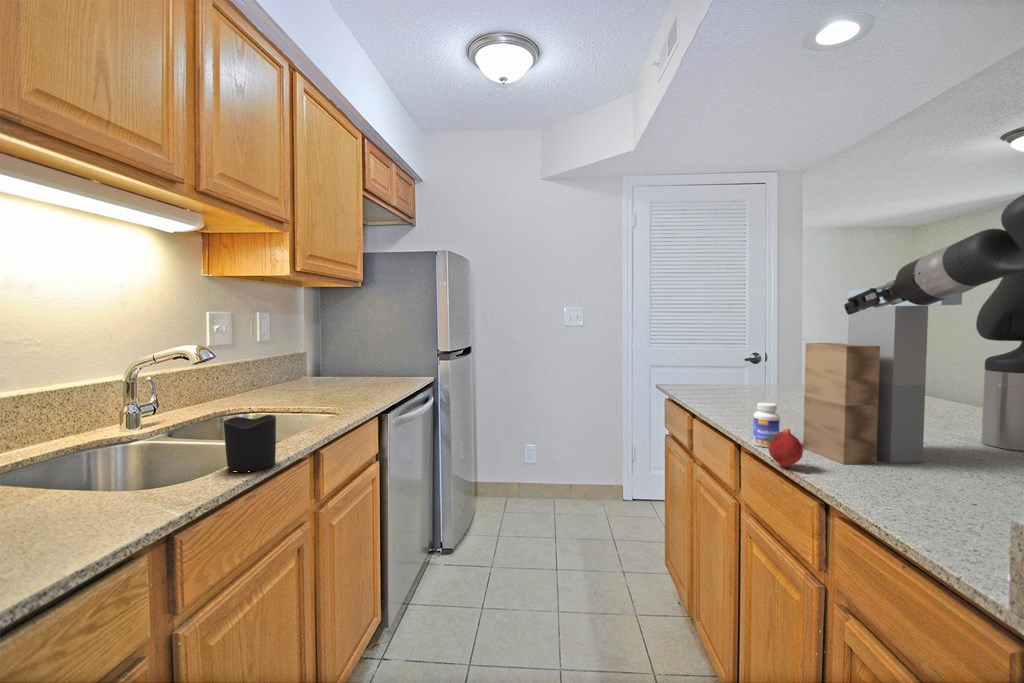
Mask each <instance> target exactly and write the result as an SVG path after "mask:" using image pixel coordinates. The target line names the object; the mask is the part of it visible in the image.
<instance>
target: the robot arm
mask: <svg viewBox="0 0 1024 683" xmlns="http://www.w3.org/2000/svg"><path fill="white" fill-rule="evenodd" d="M1000 221H1001V225H1002V227H1003V229H1002V228H988V229H983V230H981V231H978V232H976V233H974V234H972V235H969V236H967V237H964V238H963V239H961V240H959V241H957V242H955V243H953V244H949V245H947V246H945V247H941V248H939V249H936V250H934V251H932V252H930V253H928V254H926V255H924V256H922V257H920V258H918V259H916V260H913V261H911V262H909V263H907V264H905V265H903V266H902V267H901V268H900V269H899V270H898V271H897V274H896V277H895V280H890V281H888V282H886V283H885V284H883V285H881V286H877V287H871V288H868V289H869V290H867V291H865V292H863V293H860V294H858V295H856V296H854V297H850V298H849V297H848V298H847V303H844V306H843V307H844V310H845V312H846V314H847V315H848V316H849V315H850V314H854V313H856V312H859V311H861V310H862V311H863V310H865V309H867V308H871V307H875V308H880V307H883V306H887V305H890V304H891V305H895V304H898V303H901V302H905V301H909V302H911V303H913V304H916V305H930V304H933V303H936V302H938V301H941V300H944V299H947V298H950V297H953V296H955V295H958V294H961V293H962V294H963V293H966V292H969V291H971V290H973V289H974V288H976V287H979V286H982V285H984V284H987V283H989V282H992V281H995V280H998V279H1001V280H1000V282H999V283H998V285H997V287H996V288H995V289H994V290H993V291H992V293H991V294H990V296H988V298H987V299H986V301H985V302H984V303H983V305H981V307H980V310H979V312H978V314H977V317H976V323H975V326H976V327H975V328H976V331H977V333H978V334H979V336H980V337H981V338H983V339H985V340H989V341H997V342H1020V345H1019V346H1018V347H1017V348H1015V349H1012V350H1011V351H1009V352H1005V353H1000V354H997V355H992V356H989V357H986V359H985V361H984V372H983V373H984V377H983V379H984V380H983V382H984V383H983V399H982V400H983V401H982V419H981V420H982V421H981V422H982V425H981V443H983V444H984V445H987V446H991V447H994V448H1000V449H1007V450H1011V451H1021V452H1024V194H1022V195H1019V197H1016V198H1015V199H1013V200H1012V201H1011V202H1009V204H1008V205H1007V206H1006V207H1004V210H1003V211H1002V213H1001V217H1000ZM880 290H881V291H880ZM878 291H880V292H878ZM881 297H883V300H884V301H887V302H884V303H880V301H881V300H880V298H881Z"/></svg>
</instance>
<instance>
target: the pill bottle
mask: <svg viewBox="0 0 1024 683" xmlns="http://www.w3.org/2000/svg"><path fill="white" fill-rule="evenodd" d="M777 408H778V407H777V404H776V403H771V402H757V404H756V409H757V411H755V412H754V413H753V421H752V425H753V427H752V428H753V429H752V444H753V445H754V446H757V447H761V448H766V449H767V448H768V449H769V443H770V441H771V440H772V438H773V437H774V436H775V435H776V434H778V433H780V421H781V420H780V419H781V417H780V415H779V414H778V413H776V411H777Z"/></svg>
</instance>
